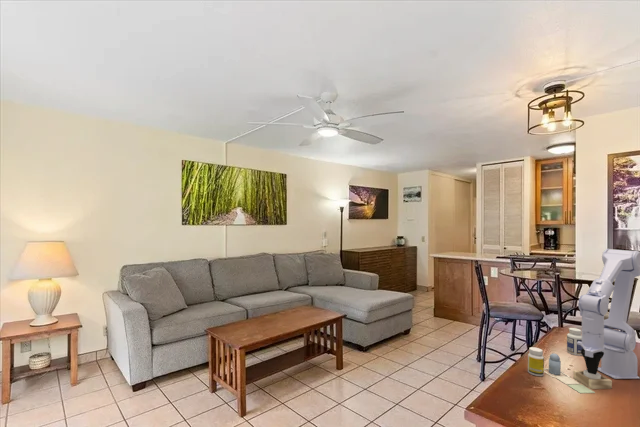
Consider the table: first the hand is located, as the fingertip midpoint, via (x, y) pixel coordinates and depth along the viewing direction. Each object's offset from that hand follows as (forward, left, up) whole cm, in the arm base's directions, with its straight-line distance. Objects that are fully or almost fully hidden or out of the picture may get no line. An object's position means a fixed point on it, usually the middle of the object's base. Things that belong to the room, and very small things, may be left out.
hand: (592, 373), depth 111 cm
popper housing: (0, 0, -3) cm, 3 cm away
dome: (0, 0, -3) cm, 3 cm away
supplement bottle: (+14, -8, -4) cm, 16 cm away
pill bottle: (-16, -25, -4) cm, 29 cm away
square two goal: (+7, +3, -3) cm, 9 cm away
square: (+7, -2, -3) cm, 8 cm away
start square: (+7, -8, -3) cm, 11 cm away
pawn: (+7, -8, -3) cm, 11 cm away
